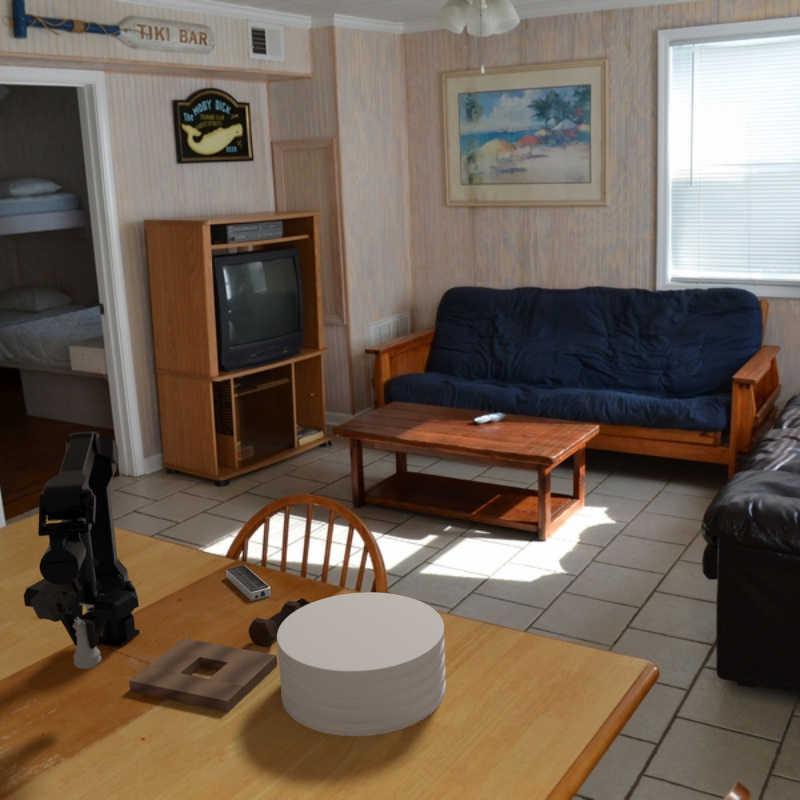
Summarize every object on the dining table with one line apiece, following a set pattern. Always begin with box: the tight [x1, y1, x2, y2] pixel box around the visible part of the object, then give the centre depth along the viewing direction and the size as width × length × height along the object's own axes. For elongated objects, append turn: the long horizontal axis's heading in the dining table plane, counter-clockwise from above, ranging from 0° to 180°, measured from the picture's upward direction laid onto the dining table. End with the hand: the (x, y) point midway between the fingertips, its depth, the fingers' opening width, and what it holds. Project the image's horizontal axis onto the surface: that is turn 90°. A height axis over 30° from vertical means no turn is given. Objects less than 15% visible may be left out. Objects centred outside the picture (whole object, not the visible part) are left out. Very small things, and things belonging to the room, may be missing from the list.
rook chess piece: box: [72, 617, 102, 670], centre depth 161 cm, size 4×4×8 cm
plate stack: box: [276, 591, 447, 737], centre depth 166 cm, size 28×28×12 cm
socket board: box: [128, 637, 278, 713], centre depth 173 cm, size 20×16×2 cm
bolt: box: [248, 597, 311, 648], centre depth 190 cm, size 6×5×15 cm
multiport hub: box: [225, 564, 272, 602], centre depth 209 cm, size 4×14×2 cm, turn 31°
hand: (85, 646), depth 162 cm, fingers closed on rook chess piece, 3 cm apart
